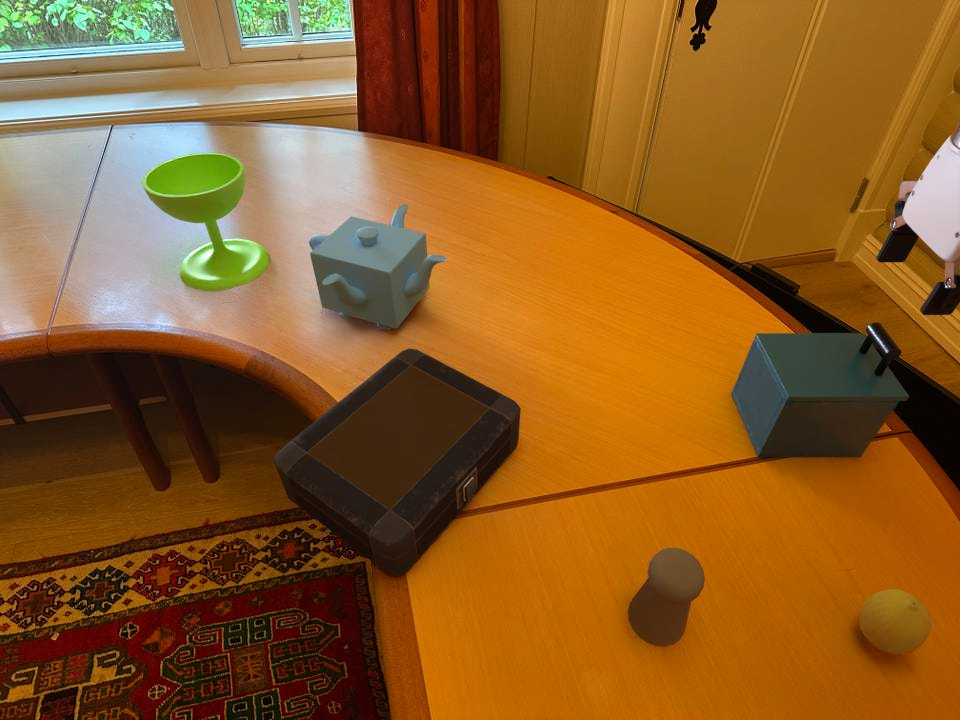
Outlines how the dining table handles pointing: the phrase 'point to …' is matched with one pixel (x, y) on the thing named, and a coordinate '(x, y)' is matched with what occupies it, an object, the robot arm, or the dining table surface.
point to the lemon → (895, 621)
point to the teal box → (802, 417)
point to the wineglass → (207, 216)
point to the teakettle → (372, 269)
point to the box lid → (833, 365)
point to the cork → (666, 597)
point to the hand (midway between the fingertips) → (911, 285)
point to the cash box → (400, 457)
